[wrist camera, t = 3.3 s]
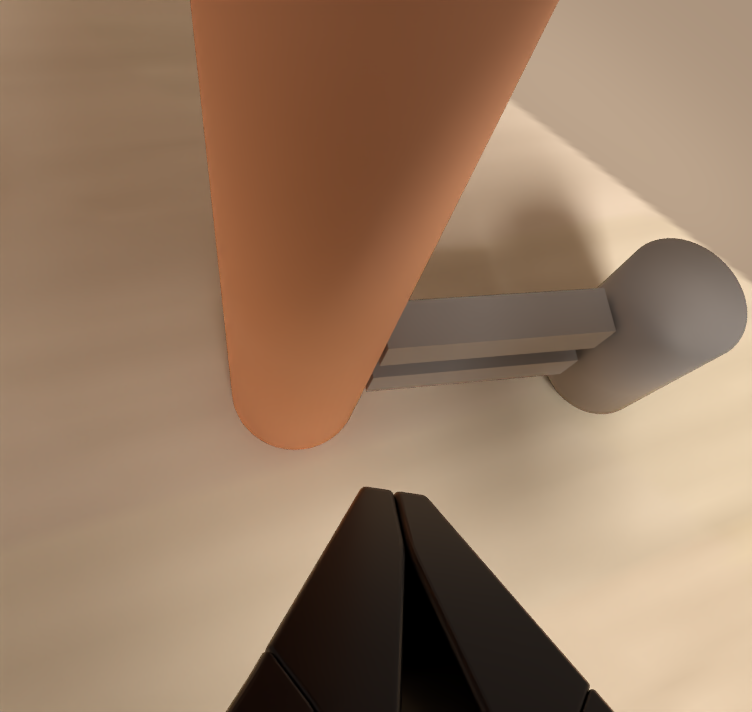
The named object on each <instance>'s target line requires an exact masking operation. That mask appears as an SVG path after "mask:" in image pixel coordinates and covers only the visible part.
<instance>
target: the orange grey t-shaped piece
mask: <svg viewBox="0 0 752 712" xmlns="http://www.w3.org/2000/svg"><path fill="white" fill-rule="evenodd" d="M558 1H559V0H190V3H191V12H192V22H193V31H194V40H195V50H196V59H197V69H198V78H199V87H200V97H201V106H202V116H203V125H204V134H205V144H206V153H207V163H208V172H209V181H210V191H211V200H212V210H213V219H214V228H215V238H216V247H217V257H218V266H219V275H220V285H221V294H222V304H223V313H224V322H225V332H226V341H227V350H228V360H229V369H230V379H231V388H232V397H233V403H234V406H235V409H236V412H237V414H238V416H239V418H240V420H241V421H242V423H243V424H244V425H245V427H246V428H247V429H248V430H249V431H250V432H251V433H252V434H253V435H254V436H256V437H257V438H259V439H260V440H262V441H264V442H265V443H267V444H270V445H272V446H275V447H279V448H283V449H292V450H297V449H306V448H311V447H314V446H318V445H320V444H322V443H324V442H326V441H328V440H329V439H331V438H333V437H334V436H335V435H336V434H337V433H339V431H340V430H341V429H342V428H343V427H344V426H345V424H346V423H347V422H348V420H349V418H350V416H351V414H352V412H353V410H354V408H355V406H356V404H357V402H358V400H359V398H360V396H361V394H362V392H363V390H364V388H365V386H366V392H368V391H379V390H390V389H401V388H412V387H423V386H434V385H445V384H456V383H466V382H477V381H488V380H499V379H510V378H521V377H532V376H543V375H548V377H549V380H550V382H551V383H552V385H553V387H554V388H555V389H556V391H557V392H558V393H559V394H560V395H561V396H562V397H563V398H564V399H565V400H566V401H567V402H569V403H570V404H572V405H573V406H575V407H577V408H579V409H581V410H583V411H586V412H590V413H595V414H608V413H613V412H616V411H619V410H621V409H623V408H625V407H627V406H628V405H630V404H632V403H634V402H636V401H638V400H640V399H641V398H643V397H645V396H647V395H649V394H651V393H653V392H654V391H656V390H658V389H660V388H662V387H664V386H666V385H667V384H669V383H671V382H673V381H675V380H677V379H679V378H680V377H682V376H684V375H686V374H688V373H690V372H691V371H693V370H695V369H697V368H699V367H701V366H703V365H704V364H706V363H708V362H710V361H712V360H714V359H716V358H717V357H719V356H721V355H723V354H725V353H727V352H728V351H730V350H731V349H732V348H733V347H734V346H735V345H736V344H737V343H738V342H739V340H740V339H741V337H742V335H743V333H744V331H745V327H746V322H747V305H746V300H745V296H744V293H743V291H742V288H741V286H740V284H739V282H738V280H737V278H736V277H735V275H734V274H733V272H732V271H731V270H730V269H729V267H728V266H727V265H726V264H725V263H724V262H723V261H722V260H721V259H720V258H719V257H717V256H716V255H715V254H714V253H712V252H711V251H709V250H707V249H706V248H704V247H702V246H700V245H698V244H695V243H693V242H690V241H686V240H682V239H675V238H666V239H659V240H655V241H652V242H649V243H647V244H645V245H644V246H642V247H641V248H640V249H638V250H637V251H636V252H635V253H634V254H633V255H632V256H631V257H630V258H629V259H628V260H626V261H625V262H624V263H623V264H622V265H621V266H620V267H619V268H618V269H617V270H616V271H615V272H614V273H613V274H611V275H610V276H609V277H608V278H607V279H606V280H605V281H604V282H603V283H602V284H601V285H600V286H599V287H598V288H595V289H579V290H563V291H548V292H532V293H516V294H500V295H485V296H469V297H453V298H437V299H422V300H409V298H410V296H411V294H412V292H413V290H414V289H415V287H416V285H417V283H418V281H419V279H420V277H421V275H422V273H423V271H424V269H425V267H426V265H427V263H428V261H429V259H430V257H431V255H432V253H433V251H434V249H435V247H436V245H437V243H438V241H439V239H440V237H441V235H442V233H443V231H444V229H445V227H446V225H447V223H448V221H449V219H450V217H451V215H452V213H453V211H454V209H455V207H456V205H457V203H458V201H459V199H460V197H461V195H462V193H463V191H464V189H465V187H466V185H467V183H468V181H469V179H470V177H471V175H472V173H473V171H474V169H475V167H476V165H477V163H478V161H479V159H480V157H481V155H482V153H483V151H484V149H485V147H486V145H487V143H488V141H489V139H490V137H491V135H492V133H493V131H494V129H495V127H496V125H497V123H498V121H499V119H500V117H501V115H502V113H503V111H504V109H505V107H506V105H507V103H508V101H509V99H510V97H511V95H512V93H513V91H514V89H515V87H516V85H517V83H518V81H519V79H520V77H521V75H522V73H523V71H524V69H525V67H526V65H527V63H528V61H529V59H530V57H531V55H532V53H533V51H534V49H535V47H536V45H537V43H538V41H539V39H540V37H541V35H542V33H543V31H544V29H545V27H546V25H547V23H548V21H549V19H550V17H551V15H552V13H553V11H554V9H555V7H556V5H557V3H558Z"/></svg>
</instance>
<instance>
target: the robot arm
mask: <svg viewBox="0 0 752 712" xmlns="http://www.w3.org/2000/svg"><path fill="white" fill-rule="evenodd" d="M589 688H590V685H589V683H588V682H587V681H586V679H585V678H584V677H583V676H582V675H581V674H580V673H579V671H578V670H577V669H576V668H575V667H574V666H573V664H572V663H571V662H570V661H569V660H568V659H567V658H566V656H565V655H564V654H563V653H562V652H561V651H560V650H559V648H558V647H557V646H556V645H555V644H554V643H553V642H552V640H551V639H550V638H549V637H548V636H547V635H546V633H545V632H544V631H543V630H542V629H541V628H540V627H539V625H538V624H537V623H536V622H535V621H534V620H533V619H532V617H531V616H530V615H529V614H528V613H527V612H526V610H525V609H524V608H523V607H522V606H521V605H520V604H519V602H518V601H517V600H516V599H515V598H514V597H513V596H512V594H511V593H510V592H509V591H508V590H507V589H506V587H505V586H504V585H503V584H502V583H501V582H500V581H499V579H498V578H497V577H496V576H495V575H494V574H493V573H492V571H491V570H490V569H489V568H488V567H487V566H486V564H485V563H484V562H483V561H482V560H481V559H480V558H479V556H478V555H477V554H476V553H475V552H474V551H473V550H472V548H471V547H470V546H469V545H468V544H467V543H466V541H465V540H464V539H463V538H462V537H461V536H460V535H459V533H458V532H457V531H456V530H455V529H454V528H453V527H452V525H451V524H450V523H449V522H448V521H447V520H446V519H445V517H444V516H443V515H442V514H441V513H440V512H439V510H438V509H437V508H436V507H435V506H434V505H433V504H432V502H431V501H430V500H429V499H428V498H427V497H426V496H424V495H419V494H412V493H405V492H396V493H395V494H394V495H393V493H392V492H391V491H389V490H385V489H378V488H371V487H363V488H361V489H360V491H359V492H358V494H357V496H356V497H355V499H354V501H353V502H352V504H351V506H350V508H349V509H348V511H347V513H346V514H345V516H344V518H343V519H342V521H341V523H340V524H339V526H338V528H337V529H336V531H335V533H334V535H333V536H332V538H331V540H330V541H329V543H328V545H327V546H326V548H325V550H324V551H323V553H322V555H321V556H320V558H319V560H318V562H317V563H316V565H315V567H314V568H313V570H312V572H311V573H310V575H309V577H308V578H307V580H306V582H305V583H304V585H303V587H302V589H301V590H300V592H299V594H298V595H297V597H296V599H295V600H294V602H293V604H292V605H291V607H290V609H289V610H288V612H287V614H286V616H285V617H284V619H283V621H282V622H281V624H280V626H279V627H278V629H277V631H276V632H275V634H274V636H273V637H272V639H271V641H270V643H269V644H268V646H267V648H266V650H265V652H264V653H263V654H262V655H261V657H260V659H259V660H258V662H257V664H256V665H255V667H254V669H253V670H252V672H251V674H250V675H249V677H248V679H247V680H246V682H245V683H244V685H243V686H242V688H241V689H240V691H239V692H238V694H237V696H236V697H235V699H234V700H233V702H232V703H231V705H230V706H229V708H228V709H227V711H226V712H614V711H613V710H612V709H611V708H610V707H609V705H608V704H607V703H606V702H605V701H604V700H603V699H602V697H601V696H600V695H599V694H598V693H597V692H596V691H595V690H593V689H591V690H589Z"/></svg>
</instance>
